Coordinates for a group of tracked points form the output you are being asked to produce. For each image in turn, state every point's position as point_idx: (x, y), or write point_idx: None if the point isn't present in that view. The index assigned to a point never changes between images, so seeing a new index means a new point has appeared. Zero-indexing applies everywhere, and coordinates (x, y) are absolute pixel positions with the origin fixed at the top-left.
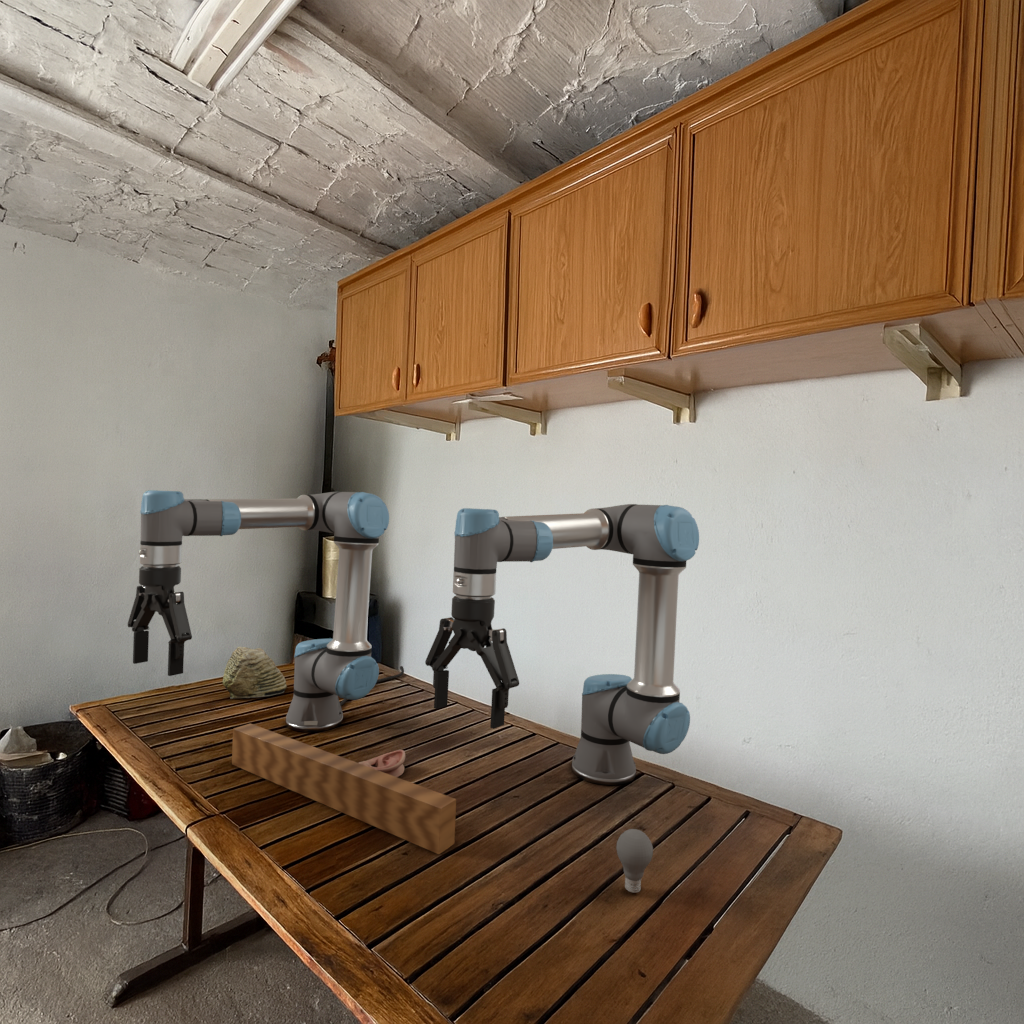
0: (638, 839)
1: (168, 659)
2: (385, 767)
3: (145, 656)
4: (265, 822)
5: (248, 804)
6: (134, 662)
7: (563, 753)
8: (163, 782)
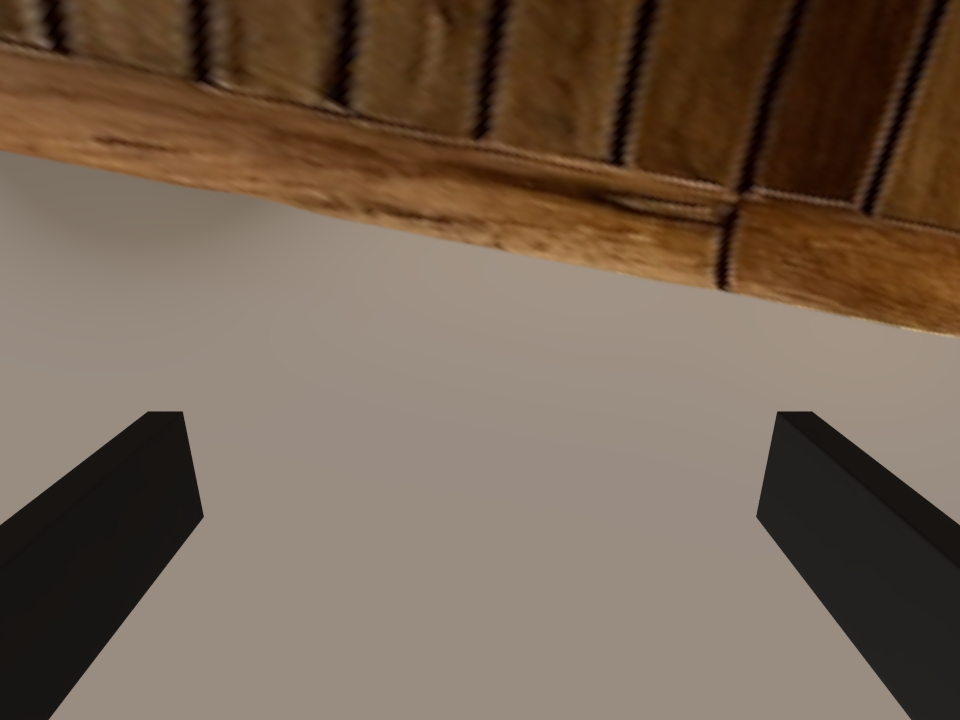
0: None
1: (846, 626)
2: None
3: (157, 459)
4: (906, 140)
5: (773, 100)
6: (194, 524)
7: None
8: (408, 189)
